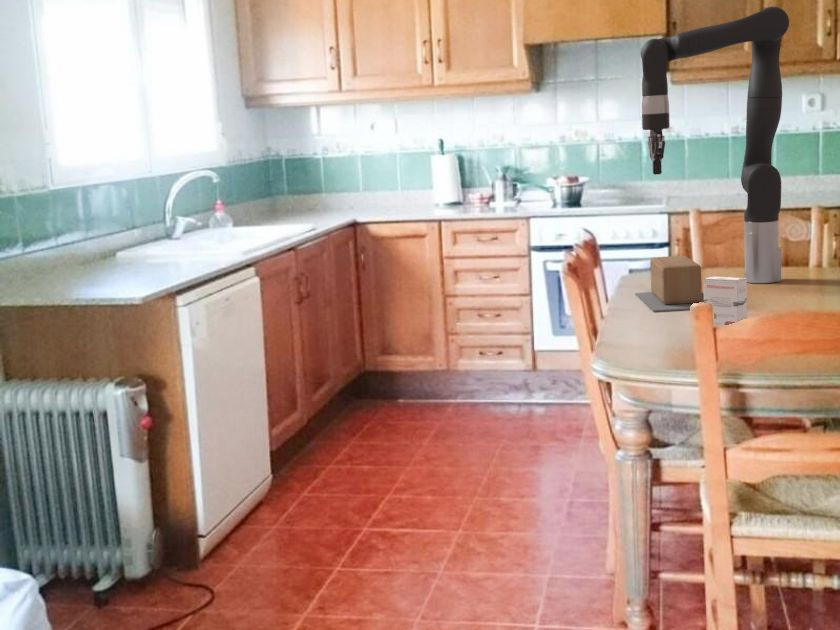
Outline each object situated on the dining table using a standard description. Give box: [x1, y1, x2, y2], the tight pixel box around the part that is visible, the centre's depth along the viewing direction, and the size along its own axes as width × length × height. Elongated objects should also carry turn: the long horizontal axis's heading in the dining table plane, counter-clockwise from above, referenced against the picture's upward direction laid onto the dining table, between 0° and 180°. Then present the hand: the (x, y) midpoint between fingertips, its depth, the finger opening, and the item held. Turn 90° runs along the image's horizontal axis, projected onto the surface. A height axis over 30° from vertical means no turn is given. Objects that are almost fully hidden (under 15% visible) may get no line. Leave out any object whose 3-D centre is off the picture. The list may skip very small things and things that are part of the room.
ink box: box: [703, 276, 748, 326], centre depth 239 cm, size 9×5×12 cm, turn 48°
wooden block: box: [649, 255, 703, 305], centre depth 280 cm, size 10×10×20 cm
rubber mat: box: [634, 291, 704, 313], centre depth 279 cm, size 17×27×1 cm, turn 178°
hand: (657, 174), depth 300 cm, fingers closed
